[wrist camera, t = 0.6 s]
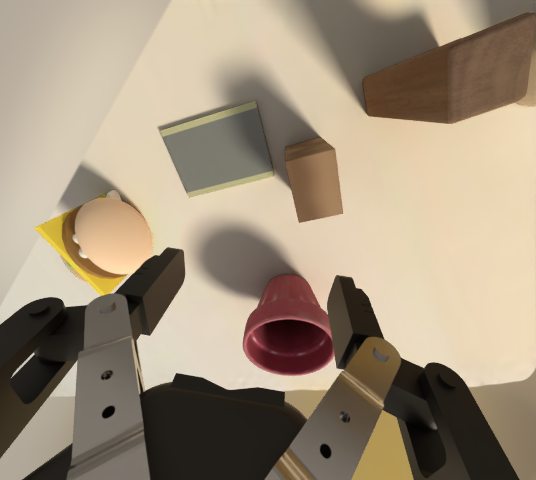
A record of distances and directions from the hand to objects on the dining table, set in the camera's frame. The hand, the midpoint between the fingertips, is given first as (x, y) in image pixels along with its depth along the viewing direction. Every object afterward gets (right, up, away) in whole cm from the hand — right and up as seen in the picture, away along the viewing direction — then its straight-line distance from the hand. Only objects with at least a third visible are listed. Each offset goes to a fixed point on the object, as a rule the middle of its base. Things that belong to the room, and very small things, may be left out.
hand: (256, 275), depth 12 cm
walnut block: (+6, +13, +22) cm, 26 cm away
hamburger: (-23, +5, +29) cm, 37 cm away
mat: (-6, +15, +22) cm, 27 cm away
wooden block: (+17, +21, +17) cm, 32 cm away
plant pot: (+5, -8, +34) cm, 36 cm away
